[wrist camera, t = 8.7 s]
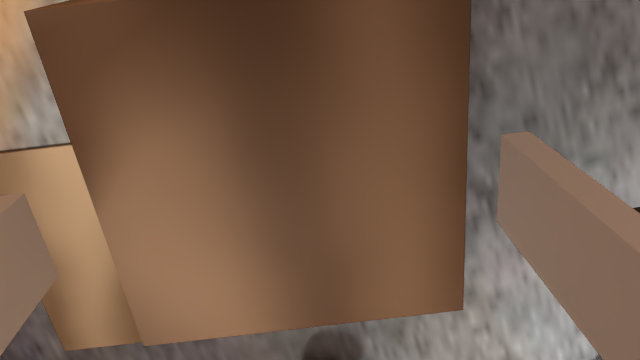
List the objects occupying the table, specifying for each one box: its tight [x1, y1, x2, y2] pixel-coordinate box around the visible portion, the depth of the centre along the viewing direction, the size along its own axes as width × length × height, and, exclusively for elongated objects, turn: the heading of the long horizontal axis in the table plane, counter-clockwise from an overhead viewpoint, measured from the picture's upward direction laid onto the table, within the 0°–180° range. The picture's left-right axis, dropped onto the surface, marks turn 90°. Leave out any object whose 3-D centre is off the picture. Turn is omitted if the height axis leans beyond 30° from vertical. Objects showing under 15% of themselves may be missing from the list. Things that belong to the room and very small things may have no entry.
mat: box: [0, 144, 142, 351], centre depth 29 cm, size 14×14×1 cm
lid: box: [24, 0, 471, 346], centre depth 17 cm, size 11×11×6 cm
